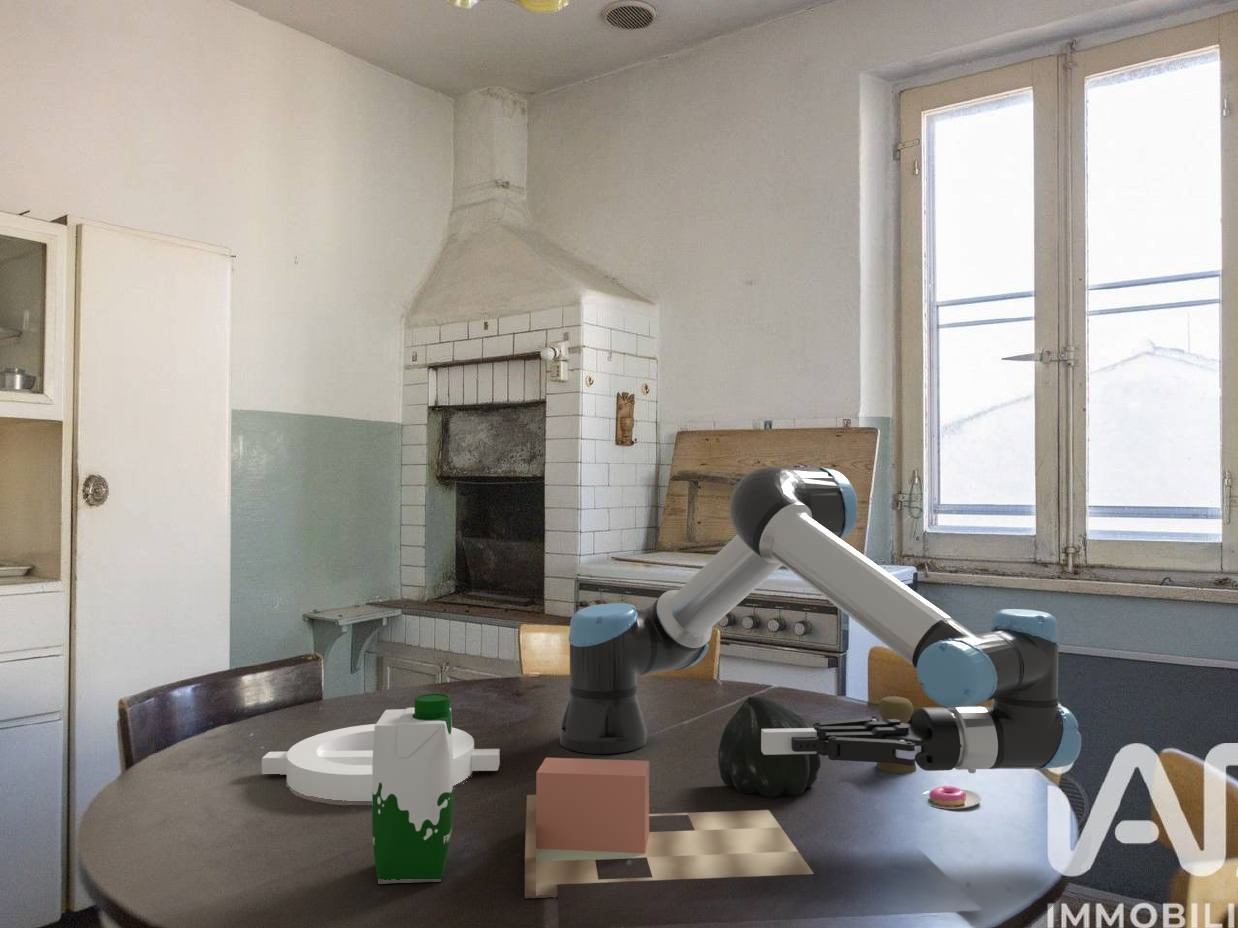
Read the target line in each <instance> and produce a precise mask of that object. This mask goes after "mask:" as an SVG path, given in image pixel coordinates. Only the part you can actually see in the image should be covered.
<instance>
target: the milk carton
mask: <svg viewBox="0 0 1238 928" xmlns="http://www.w3.org/2000/svg"><path fill="white" fill-rule="evenodd" d="M452 723H453V722H452V708H451V707H450V696H449V695H447V694H443V693H429V694H427V693H426V694H421V695H418V696H416V697H415V698H414V707H406V708H403V709H399V708H398V709H393V708H392V709H385V711H384V712H383V713H382V714H381V716H380V718H379V719H378V721H376V723H375V724H376V725H375V730H374V744H373V759H372V808H371V810H372V811H371V816H372V818H371V820H372V822H371V825H372V826H371V829H372V830H371V831H372V832H371V833H372V847H373V853H374V854H373V855H374V864H375V865H374V866H375V872H376V874H375V875H376V880H377V879H382V880H383V879H384V880H387V879H388V880H391V879H396V880H400V879H441V878H442V879H443V877H442V876H444V873H443V872H445V869H446V865H445V864H447V861H446V860H448V857H447V856H449V849H450V844H451V837H452V830H453V823H454V822H453V819H454V789H453V742H452V727H453V724H452ZM444 868H445V869H444Z"/></svg>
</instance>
